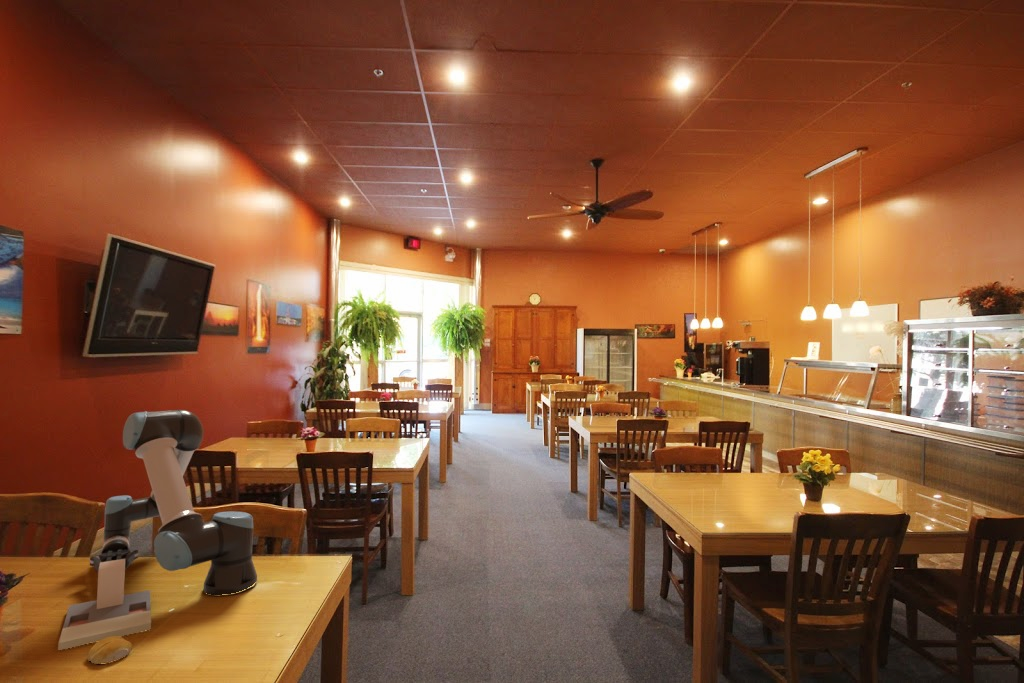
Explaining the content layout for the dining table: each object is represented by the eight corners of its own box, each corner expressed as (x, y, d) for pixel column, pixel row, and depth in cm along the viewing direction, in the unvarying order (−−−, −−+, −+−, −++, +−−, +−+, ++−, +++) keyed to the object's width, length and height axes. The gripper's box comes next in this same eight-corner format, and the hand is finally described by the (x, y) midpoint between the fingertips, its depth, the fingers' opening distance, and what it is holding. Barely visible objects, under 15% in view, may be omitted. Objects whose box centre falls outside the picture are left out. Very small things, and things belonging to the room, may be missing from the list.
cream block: (98, 601, 154) (99, 562, 154) (123, 596, 157) (125, 558, 158) (96, 609, 149) (98, 569, 149) (123, 604, 152) (124, 565, 153)
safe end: (62, 636, 138) (62, 628, 138) (150, 617, 149) (150, 610, 149) (58, 651, 131) (58, 642, 131) (150, 630, 142) (151, 622, 142)
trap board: (69, 612, 151) (69, 605, 151) (149, 596, 162) (150, 589, 162) (62, 636, 138) (62, 628, 138) (150, 617, 149) (150, 610, 149)
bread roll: (120, 643, 136) (120, 627, 136) (136, 654, 131) (137, 638, 131) (80, 658, 129) (81, 641, 129) (96, 670, 124) (97, 653, 124)
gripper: (138, 558, 182) (138, 582, 163) (90, 565, 175) (83, 592, 156) (139, 536, 183) (139, 557, 163) (91, 542, 175) (85, 566, 156)
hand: (112, 574), depth 160 cm, fingers closed
